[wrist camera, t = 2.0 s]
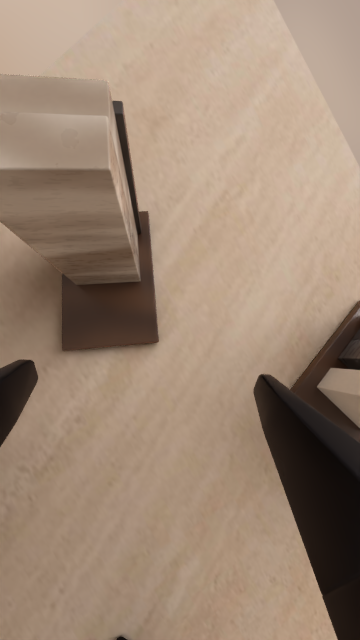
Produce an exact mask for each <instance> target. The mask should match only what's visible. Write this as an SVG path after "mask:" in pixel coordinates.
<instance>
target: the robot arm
mask: <svg viewBox="0 0 360 640" xmlns="http://www.w3.org/2000/svg"><path fill="white" fill-rule="evenodd" d="M37 380H38V375H37V371H36V368H35V365H34V362H33V361H32V360H18V361H15V362H13V363H11V364H9V365H7V366H5V367H2V368H0V447H1V445H2V444H3V442H4V440H5V439H6V437H7V436H8V434H9V433H10V431H11V430H12V428H13V426H14V425H15V423H16V422H17V420H18V418H19V416H20V414H21V412H22V410H23V408H24V407H25V405H26V403H27V401H28V399H29V397H30V395H31V393H32V391H33V389H34V387H35V385H36V383H37ZM254 396H255V400H256V404H257V408H258V412H259V416H260V420H261V424H262V428H263V431H264V434H265V437H266V440H267V443H268V446H269V448H270V451H271V454H272V457H273V459H274V462H275V465H276V468H277V471H278V473H279V476H280V479H281V482H282V485H283V487H284V490H285V493H286V496H287V499H288V501H289V504H290V507H291V510H292V513H293V515H294V518H295V521H296V524H297V527H298V529H299V532H300V535H301V538H302V541H303V543H304V546H305V549H306V552H307V554H308V557H309V560H310V563H311V566H312V568H313V571H314V574H315V577H316V580H317V582H318V585H319V588H320V591H321V593H322V595H323V596H322V597H323V600H324V603H325V605H326V608H327V611H328V614H329V617H330V619H331V622H332V625H333V628H334V631H335V633H336V636H337V639H338V640H360V443H359V442H358V441H357V440H356V439H354V438H353V437H352V436H350V435H349V434H348V433H346V432H345V431H344V430H342V429H341V428H340V427H338V426H337V425H336V424H334V423H333V422H332V421H330V420H329V419H328V418H326V417H325V416H324V415H323V414H321V413H320V412H319V411H317V410H316V409H315V408H313V407H312V406H311V405H309V404H308V403H307V402H305V401H304V400H303V399H301V398H300V397H299V396H297V395H296V394H295V393H294V392H292V391H291V390H290V389H288V388H287V387H286V386H284V385H283V384H282V383H280V382H279V381H278V380H276V379H275V378H274V377H272V376H271V375H266V374H261V375H259V377H258V379H257V382H256V384H255V387H254ZM117 640H127V639H126V638H124V637H119V638H117Z"/></svg>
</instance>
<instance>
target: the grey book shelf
mask: <svg viewBox="0 0 360 640" xmlns="http://www.w3.org/2000/svg"><path fill="white" fill-rule="evenodd" d="M330 368H339V369H352V370H360V301H359V302H358V303H357V304H356V306H355V307H354V308H353V310H352V311H351V312H350V313H349V315H348V316H347V317H346V319H345V320H344V321H343V322H342V324H341V325H340V326H339V328H338V329H337V330H336V332H335V333H334V334H333V335H332V337H331V338H330V339H329V341H328V342H327V343H326V344H325V346H324V347H323V348H322V350H321V351H320V352H319V353H318V355H317V356H316V357H315V359H314V360H313V361H312V363H311V364H310V365H309V366H308V368H307V369H306V370H305V372H304V373H303V374H302V375H301V377H300V378H299V379H298V381H297V382H296V383H295V384H294V386H293V387H292V388H291V391H292V392H294V393H295V394H296V395H297V396H299V397H300V398H301V399H303V400H304V401H305V402H307V403H308V404H309V405H311V406H312V407H313V408H315V409H316V410H317V411H319V412H320V413H321V414H323V415H324V416H325V417H326V418H328V419H329V420H330V421H332V422H333V423H334V424H336V425H337V426H338V427H340V428H341V429H342V430H344V431H345V432H346V433H348V434H349V435H350V436H352V437H353V438H354V439H356V440H357V441H358V442H359V443H360V428H359V427H358V426H357V425H356V424H355V423H354V422H353V421H352V420H351V419H350V418H348V417H347V416H346V415H345V414H344V413H343V412H342V411H341V410H340V409H339V408H338V407H337V406H336V405H335V404H334V403H333V402H332V401H331V400H330V399H329V398H328V397H327V396H326V395H325V394H323V393H322V392H321V391H320V390H319V389H318V388H317V386H318V384H319V383H320V382H321V380H322V379H323V378H324V376H325V375H326V374H327V372H328V371H329V370H330Z"/></svg>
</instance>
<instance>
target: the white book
mask: <svg viewBox="0 0 360 640" xmlns="http://www.w3.org/2000/svg"><path fill="white" fill-rule="evenodd" d="M317 388H318V389H319V390H320V391H321V392H322V393H323V394H325V395H326V396H327V397H328V398H329V399H330V400H331V401H332V402H333V403H334V404H335V405H336V406H337V407H338V408H339V409H340V410H341V411H342V412H343V413H344V414H345V415H346V416H347V417H348V418H350V419H351V420H352V421H353V422H354V423H355V424H356V425H357V426H358V427H359V428H360V370H352V369H339V368H330V370H329V371H328V372H327V374H326V375H325V376H324V378H323V379H322V380H321V382H320V383H319V384H318V386H317Z"/></svg>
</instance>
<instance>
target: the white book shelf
mask: <svg viewBox="0 0 360 640" xmlns="http://www.w3.org/2000/svg"><path fill="white" fill-rule="evenodd" d="M0 222H1V223H2V224H4V225H5V226H6V227H7V228H8V229H10V230H11V231H12V232H13V233H14V234H16V235H17V236H18V237H19V238H20V239H22V240H23V241H24V242H25V243H26V244H28V245H29V246H30V247H31V248H33V249H34V250H35V251H36V252H37V253H39V254H40V255H41V256H42V257H43V258H45V259H46V260H47V261H48V262H49V263H51V264H52V265H53V266H54V267H55V268H57V269H58V270H59V271H60V272H62V350H64V351H68V350H79V349H90V348H101V347H112V346H123V345H133V344H144V343H155V342H159V339H158V326H157V314H156V301H155V289H154V276H153V264H152V251H151V239H150V226H149V214H148V211H144V212H139V209H138V202H137V196H136V189H135V182H134V175H133V169H132V162H131V155H130V149H129V142H128V135H127V128H126V122H125V115H124V108H123V103H122V101H112V97H111V92H110V87H109V82H108V81H107V80H94V79H76V78H59V77H41V76H23V75H6V74H0Z"/></svg>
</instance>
